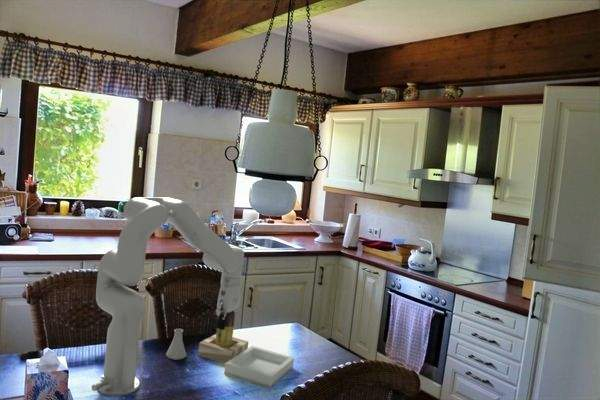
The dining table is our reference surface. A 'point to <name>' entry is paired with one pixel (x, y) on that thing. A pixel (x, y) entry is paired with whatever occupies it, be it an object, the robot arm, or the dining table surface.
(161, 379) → the dining table surface
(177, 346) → the flask
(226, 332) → the sauce bottle
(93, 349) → the dining table surface
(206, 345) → the shallow rimmed box
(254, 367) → the tray
